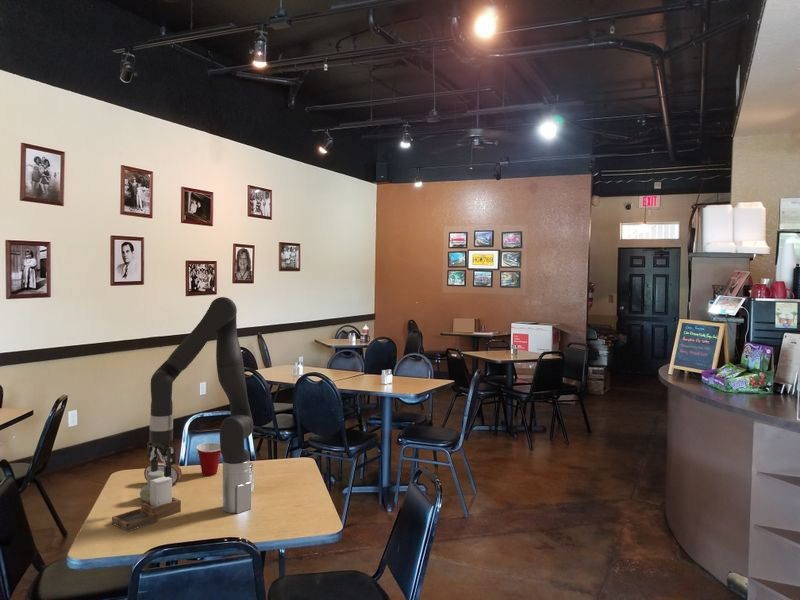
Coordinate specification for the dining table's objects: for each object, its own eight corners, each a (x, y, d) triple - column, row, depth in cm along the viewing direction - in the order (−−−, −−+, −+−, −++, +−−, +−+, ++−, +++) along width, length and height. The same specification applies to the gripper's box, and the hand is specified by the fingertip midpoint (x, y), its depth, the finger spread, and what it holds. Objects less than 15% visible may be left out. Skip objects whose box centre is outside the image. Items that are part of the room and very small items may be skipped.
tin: (182, 484, 238) (182, 463, 238) (178, 486, 235) (178, 465, 235) (147, 481, 241) (147, 461, 240) (142, 484, 237) (142, 463, 237)
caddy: (183, 512, 208) (183, 501, 208) (127, 531, 192) (127, 519, 192) (167, 506, 214) (167, 495, 214) (111, 523, 198) (111, 511, 198)
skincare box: (156, 517, 204) (156, 482, 204) (149, 514, 207) (149, 480, 206) (172, 512, 209) (172, 478, 208) (165, 509, 211) (165, 475, 211)
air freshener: (135, 502, 218) (135, 475, 218) (150, 494, 226) (150, 468, 226) (162, 505, 215) (162, 477, 215) (175, 497, 223) (175, 470, 223)
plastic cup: (202, 480, 243) (202, 450, 243) (191, 473, 251) (191, 445, 251) (227, 474, 250) (227, 446, 250) (216, 468, 258) (216, 441, 258)
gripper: (182, 429, 206) (182, 475, 206) (160, 422, 214) (159, 467, 215) (162, 433, 200) (161, 481, 200) (140, 425, 209) (139, 472, 209)
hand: (160, 473), depth 208 cm, fingers open, 8 cm apart
